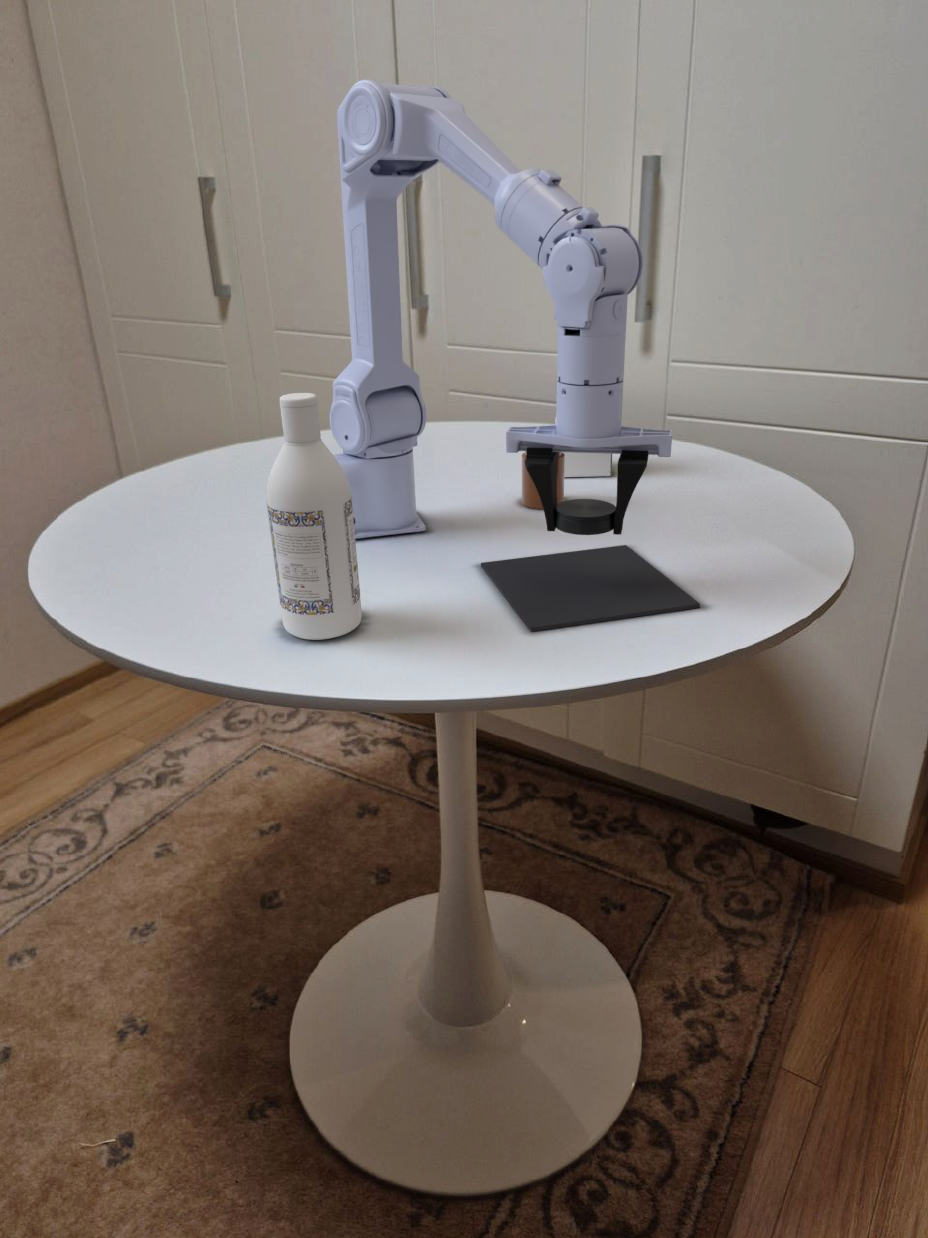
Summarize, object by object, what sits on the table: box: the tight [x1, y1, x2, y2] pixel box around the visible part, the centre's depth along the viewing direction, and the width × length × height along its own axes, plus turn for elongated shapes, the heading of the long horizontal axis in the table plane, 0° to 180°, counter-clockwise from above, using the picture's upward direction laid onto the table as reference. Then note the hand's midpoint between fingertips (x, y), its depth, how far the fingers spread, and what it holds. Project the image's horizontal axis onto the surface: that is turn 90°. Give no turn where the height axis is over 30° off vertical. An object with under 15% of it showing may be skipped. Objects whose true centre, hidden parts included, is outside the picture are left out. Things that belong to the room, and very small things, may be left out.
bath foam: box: [266, 392, 363, 641], centre depth 72 cm, size 7×7×20 cm
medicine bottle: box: [554, 416, 613, 478], centre depth 116 cm, size 7×7×12 cm
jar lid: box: [555, 498, 616, 536], centre depth 79 cm, size 6×6×2 cm
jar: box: [521, 451, 565, 510], centre depth 105 cm, size 5×5×7 cm
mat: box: [480, 544, 701, 632], centre depth 82 cm, size 16×16×1 cm
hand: (585, 529), depth 80 cm, fingers closed on jar lid, 5 cm apart
